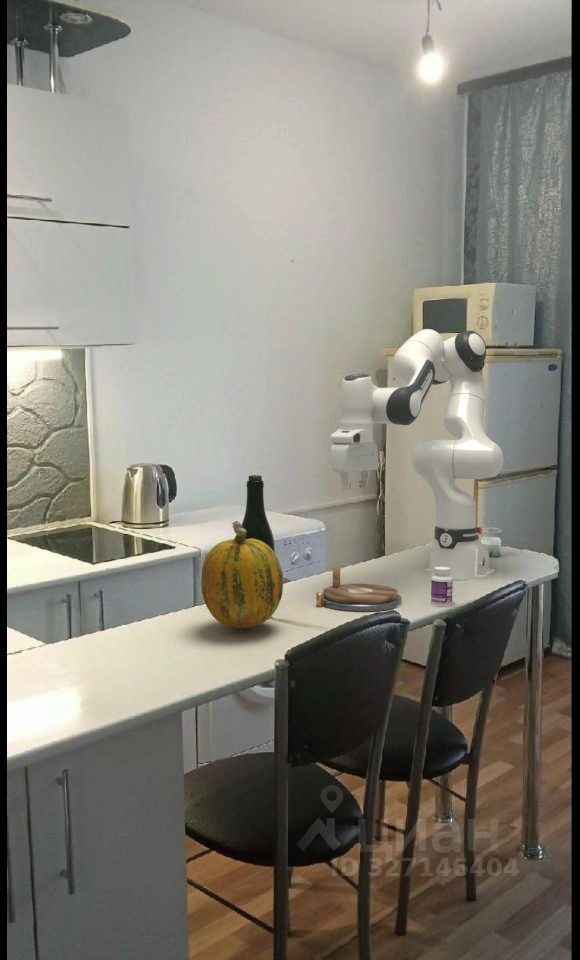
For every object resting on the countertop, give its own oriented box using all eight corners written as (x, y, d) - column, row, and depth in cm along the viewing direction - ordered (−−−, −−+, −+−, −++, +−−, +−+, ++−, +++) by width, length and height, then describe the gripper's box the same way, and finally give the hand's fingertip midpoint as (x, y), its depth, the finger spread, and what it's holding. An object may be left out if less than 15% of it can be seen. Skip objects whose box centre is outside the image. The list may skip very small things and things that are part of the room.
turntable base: (349, 591, 253) (349, 578, 253) (416, 601, 240) (416, 587, 240) (302, 604, 236) (302, 590, 236) (372, 616, 223) (372, 601, 223)
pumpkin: (226, 638, 202) (225, 524, 200) (187, 621, 218) (186, 515, 216) (298, 627, 212) (298, 518, 210) (256, 611, 228) (256, 510, 226)
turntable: (350, 586, 251) (350, 562, 251) (411, 595, 240) (411, 570, 239) (308, 598, 236) (308, 572, 236) (371, 608, 225) (371, 581, 224)
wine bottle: (255, 611, 229) (255, 477, 226) (226, 604, 236) (225, 475, 233) (284, 604, 237) (284, 475, 234) (255, 598, 244) (254, 473, 241)
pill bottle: (452, 608, 232) (452, 570, 231) (430, 607, 233) (430, 569, 232) (452, 603, 237) (453, 566, 236) (431, 602, 238) (432, 565, 237)
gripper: (363, 435, 254) (362, 485, 255) (326, 436, 237) (326, 490, 238) (384, 435, 251) (383, 486, 252) (348, 436, 233) (347, 491, 234)
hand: (355, 488), depth 245 cm, fingers open, 8 cm apart
